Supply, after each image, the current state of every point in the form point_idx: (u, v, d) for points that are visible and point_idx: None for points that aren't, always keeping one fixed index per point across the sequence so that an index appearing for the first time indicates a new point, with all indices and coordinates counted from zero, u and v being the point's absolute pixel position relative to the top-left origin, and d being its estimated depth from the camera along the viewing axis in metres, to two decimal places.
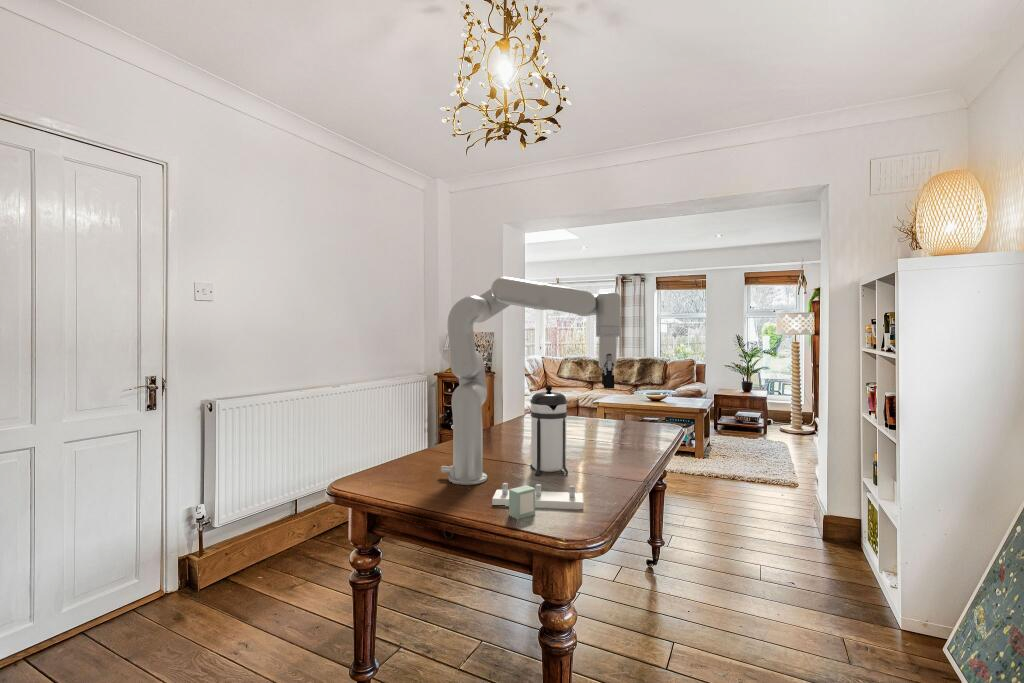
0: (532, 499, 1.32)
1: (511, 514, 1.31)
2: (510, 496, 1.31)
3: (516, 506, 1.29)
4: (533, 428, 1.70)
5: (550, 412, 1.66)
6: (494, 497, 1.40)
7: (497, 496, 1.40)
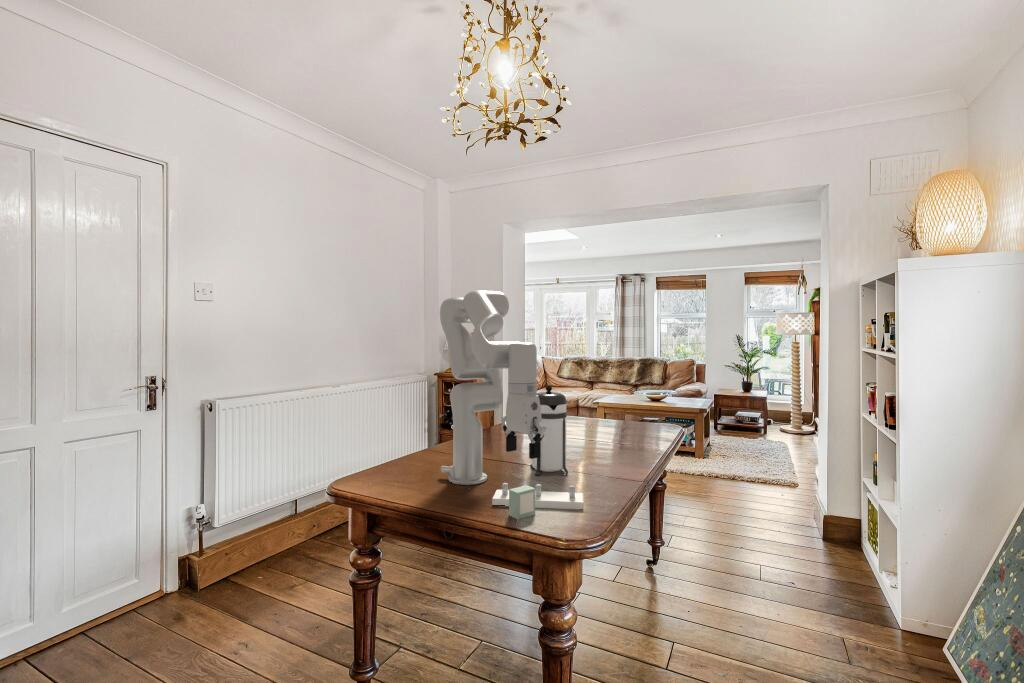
0: (532, 499, 1.32)
1: (511, 514, 1.31)
2: (510, 496, 1.31)
3: (516, 506, 1.29)
4: None
5: (550, 412, 1.66)
6: (494, 497, 1.40)
7: (497, 496, 1.40)
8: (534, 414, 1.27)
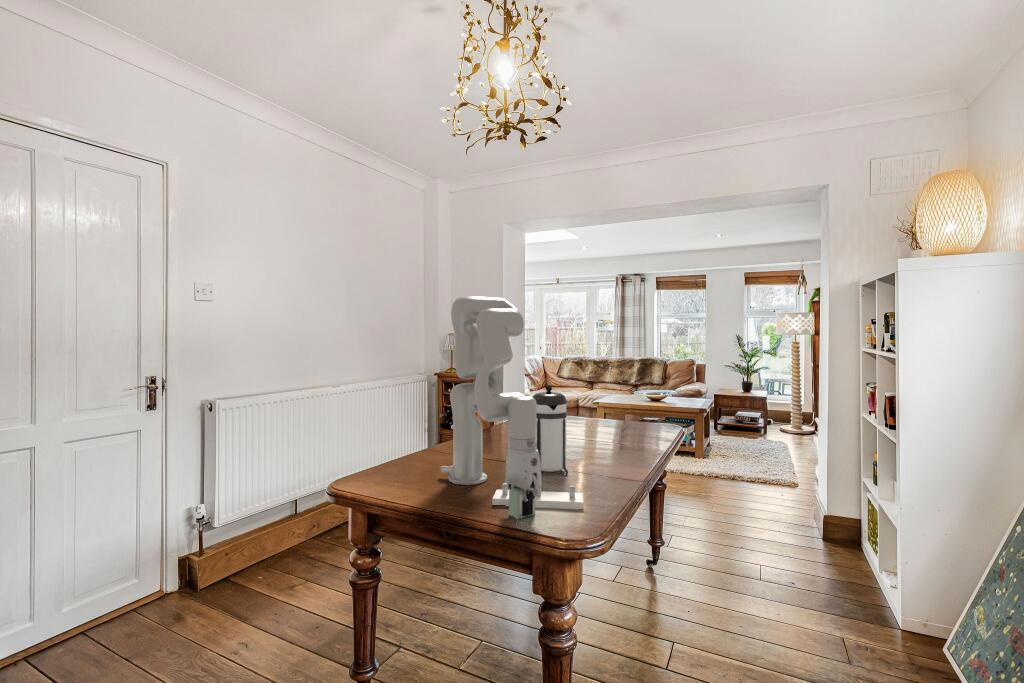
0: None
1: (511, 514, 1.31)
2: (510, 496, 1.31)
3: (516, 505, 1.29)
4: None
5: (550, 412, 1.66)
6: (494, 497, 1.40)
7: (497, 496, 1.40)
8: (534, 470, 1.28)
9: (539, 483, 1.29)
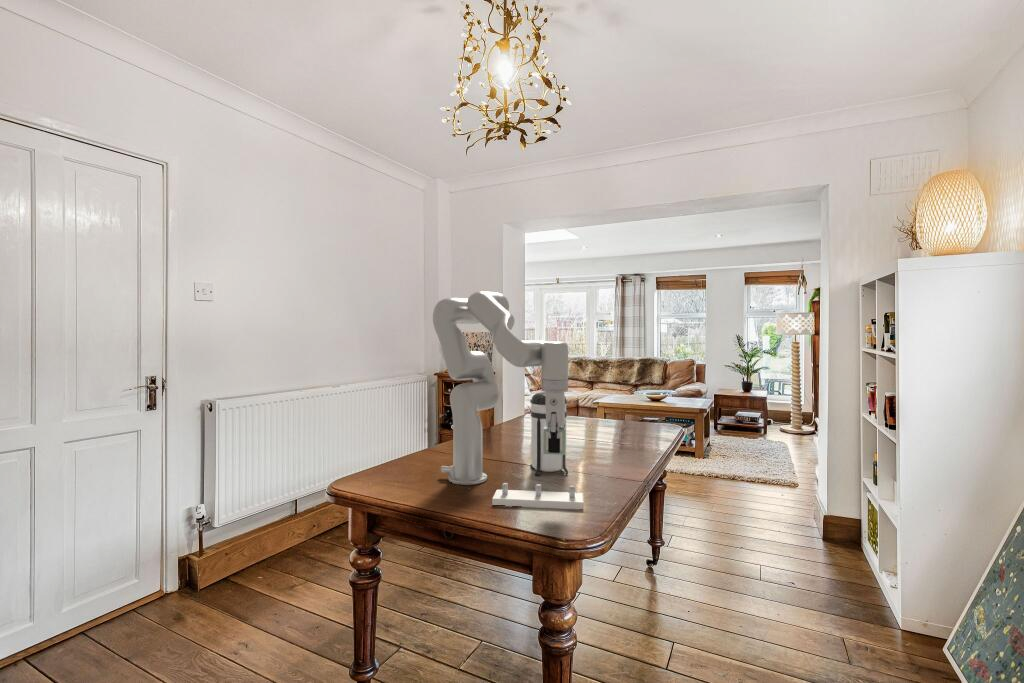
0: (561, 439, 1.38)
1: None
2: None
3: None
4: (533, 428, 1.70)
5: None
6: (494, 497, 1.40)
7: (497, 496, 1.40)
8: (553, 409, 1.35)
9: (559, 423, 1.35)
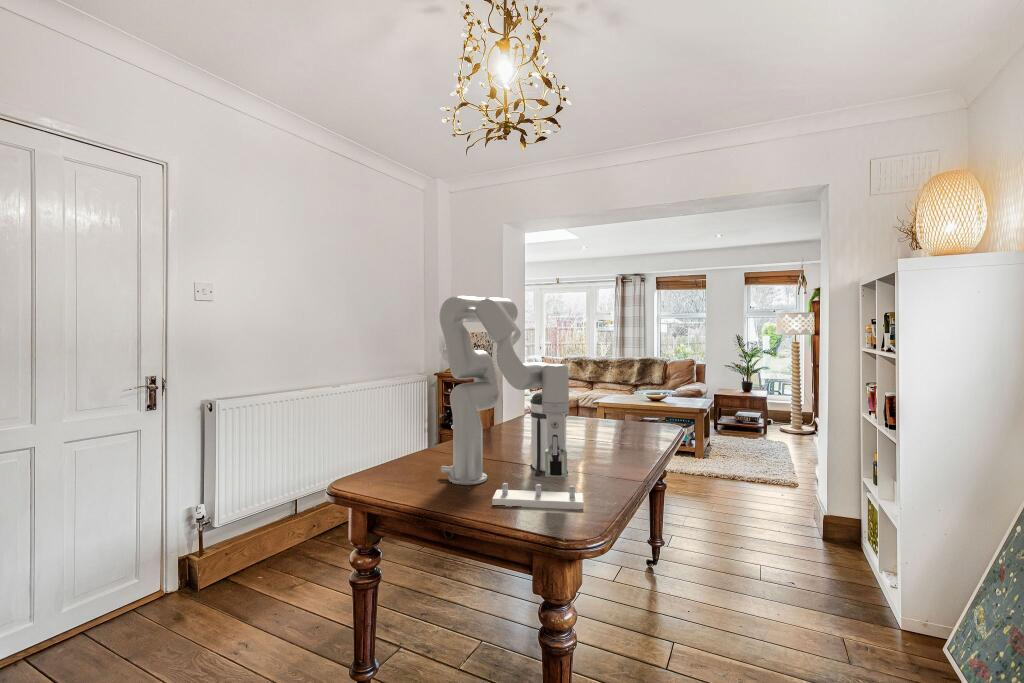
0: (563, 461, 1.38)
1: None
2: None
3: (545, 463, 1.39)
4: (533, 428, 1.70)
5: None
6: (494, 497, 1.40)
7: (497, 496, 1.40)
8: (554, 432, 1.35)
9: (561, 446, 1.35)
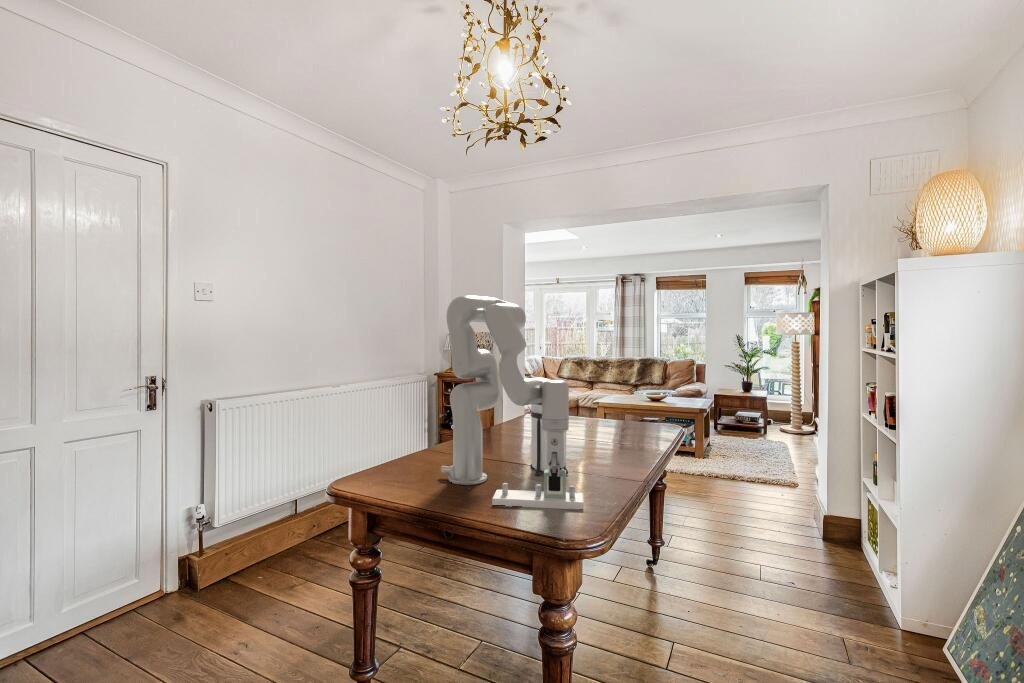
0: (561, 483, 1.39)
1: None
2: None
3: (544, 485, 1.40)
4: (533, 428, 1.70)
5: None
6: (494, 497, 1.40)
7: (497, 496, 1.40)
8: (554, 449, 1.35)
9: (560, 463, 1.35)
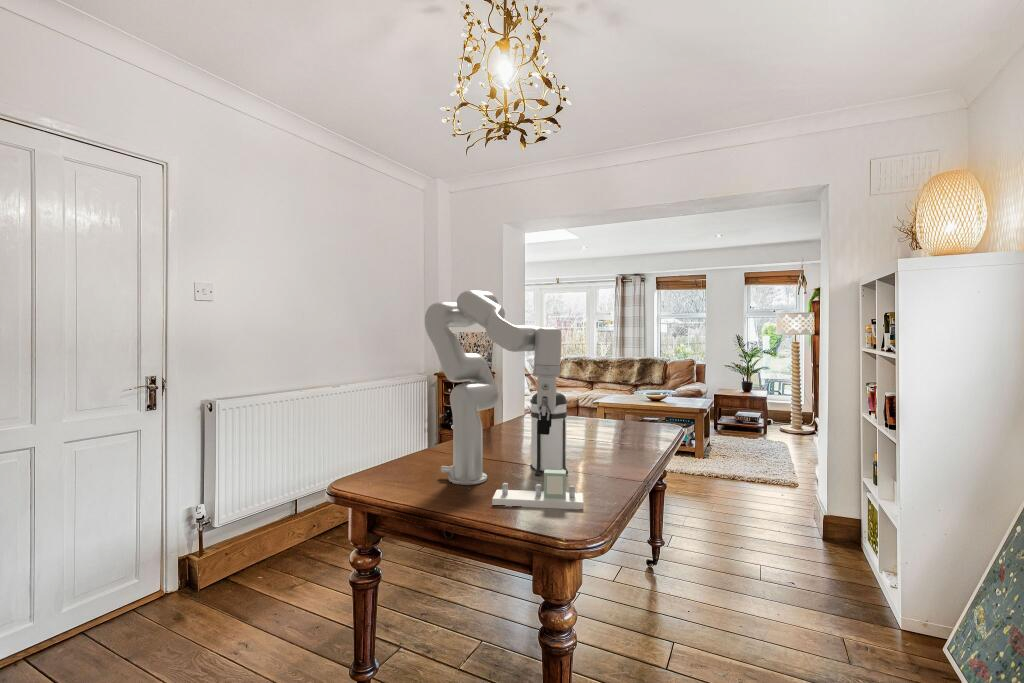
0: (561, 483, 1.39)
1: None
2: None
3: (544, 485, 1.40)
4: (533, 428, 1.70)
5: None
6: (494, 497, 1.40)
7: (497, 496, 1.40)
8: (544, 394, 1.38)
9: (550, 407, 1.37)
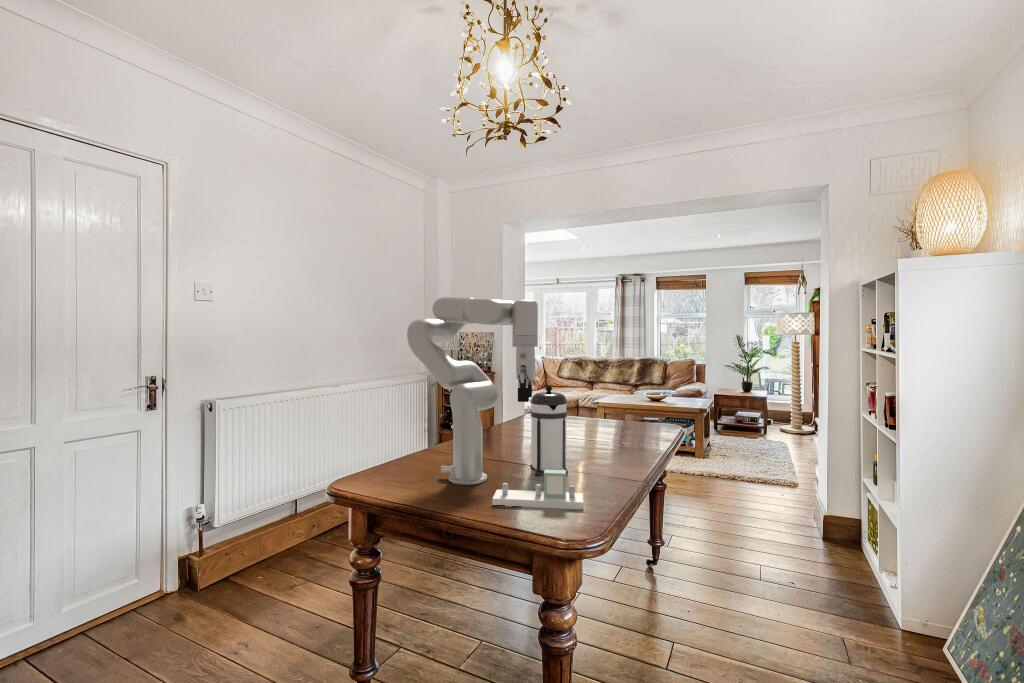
0: (561, 483, 1.39)
1: None
2: None
3: (544, 485, 1.40)
4: (533, 428, 1.70)
5: (550, 412, 1.66)
6: (494, 497, 1.40)
7: (497, 496, 1.40)
8: (522, 362, 1.43)
9: (529, 375, 1.43)
